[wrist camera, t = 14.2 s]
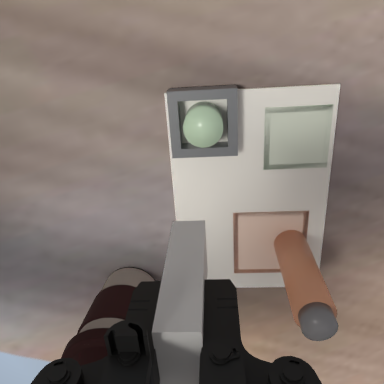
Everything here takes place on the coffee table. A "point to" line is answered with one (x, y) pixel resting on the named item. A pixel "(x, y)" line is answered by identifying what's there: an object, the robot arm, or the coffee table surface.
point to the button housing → (203, 94)
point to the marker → (305, 287)
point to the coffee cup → (104, 315)
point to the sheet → (261, 180)
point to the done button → (203, 124)
